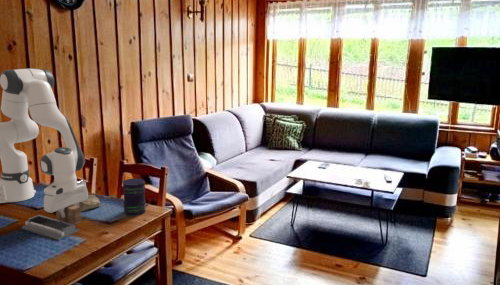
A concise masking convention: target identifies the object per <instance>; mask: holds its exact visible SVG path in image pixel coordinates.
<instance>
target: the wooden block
mask: <svg viewBox="0 0 500 285" xmlns="http://www.w3.org/2000/svg"><path fill="white" fill-rule="evenodd" d="M64 212H65V213H67V217H65V218H62V217H61V213H60V212H59V211H55V216H56V218H55V219H57V220H60V221H64V222H67V223H71V224H74V225H75V226H77V225H79V224H81V223H82V212H81V210H80V207H77V206H73V205H71V206H68V207H66V208H64ZM78 223H79V224H78ZM76 224H77V225H76Z"/></svg>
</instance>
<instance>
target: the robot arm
mask: <svg viewBox="0 0 500 285" xmlns="http://www.w3.org/2000/svg"><path fill="white" fill-rule="evenodd" d="M54 86H55V76H54V75H53V73H52V72H51V71H50V70H48V69H44V68H39V69H38V68H27V67H26V68H18V69H7V70H5V69H4V70H3V71H1V73H0V87H1V89H2V95H1V101H0V103H1V104H0V112H1V114H3V115H4V116H6V117H7V118H10V120H8V121H4V122H3V121H1V122H0V163H1V169H2V171H0V204H6V203H18V202H24V201H27V200H29V199H32V198H33V197H35V194H36V193H37V191H36V189H35V188H34V184H33V183H34V182H33V179H32V178H31V177H30V169H29V167H28V166H29V165H28V156H27V154H26V153H25V152H24V151H22V150H19V149H16V147H15V144H17V143H20V144H21V143H25V142H29V141H31V140H35V139H37V137H38V136H39V133H40V129H39V127H40V126H43V127H48V128H51V129H55V130H57V131H58V132H59V133H60V134H61V137H62V139H63V141H64V143H65V146H66V147H64V146H63V147H62V146H61V147H57V148H55V149H53V150H52V152H48V153H46V154H43V156H42V157H41V159H40V161H39V164H40V165H39V166H40V171H41V172H42V173H44V174H45V175H47V176H54V179H53V182H51V184H49V185H47V186H46V187H45V188H44V189H43V193H44V194H45V195H44V197H43V209H44V211H45V212H46V213H49V214H53V213H54V212H55V213H56V211H59V212H60V213H61V217H62V218H65V217H67V213H65V212H64V208H66V207H68V206H71V205H73V206H77V203H79V202H81V201H84V200H87V198H88V195H89V192H88V188H87V182H86V181H85V180H83V179H82V180H78V178H77V174H76V172H78V171H81V169H83V167H84V165H85V163H86V158H85V157H86V156H85V155H84V152H83V151H82V149H81V147H80V145H79V143H78V140H77V138H76V135H75V133H74V130H73V126H72V124H71V123H70V121H69V119H68V117H67V116H66V115H64V114H63V113H62V112H61V111H60V110H59V108H58V106H57V101H56V98H55V94H54V91H53V88H54ZM29 115H30V116H29ZM30 117H31V118H30ZM39 125H40V126H39Z"/></svg>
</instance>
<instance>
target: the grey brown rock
mask: <svg viewBox="0 0 500 285" xmlns="http://www.w3.org/2000/svg"><path fill="white" fill-rule="evenodd" d="M100 206H101V201H100V198H99V197H97V196H96V195H95V194H88V198H87V200H84V201H81V202H79V203H77V207H80V210H81V211H82V212H85V211H88V210H92V209H96V208H98V207H100Z"/></svg>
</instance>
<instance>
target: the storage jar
mask: <svg viewBox="0 0 500 285" xmlns="http://www.w3.org/2000/svg"><path fill="white" fill-rule="evenodd" d="M122 192H123V199H124V200H123V208H124V209H123V210H124V215H126V216H129V217H135V216H141V215H144V214H145V213H146V211H147V210H146V206H147V203H146V198H145V197H146V196H145V193H146V184H145V179H142V178H137V177H136V178H133V177H132V178H127V179H125V180H123V181H122Z"/></svg>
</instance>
